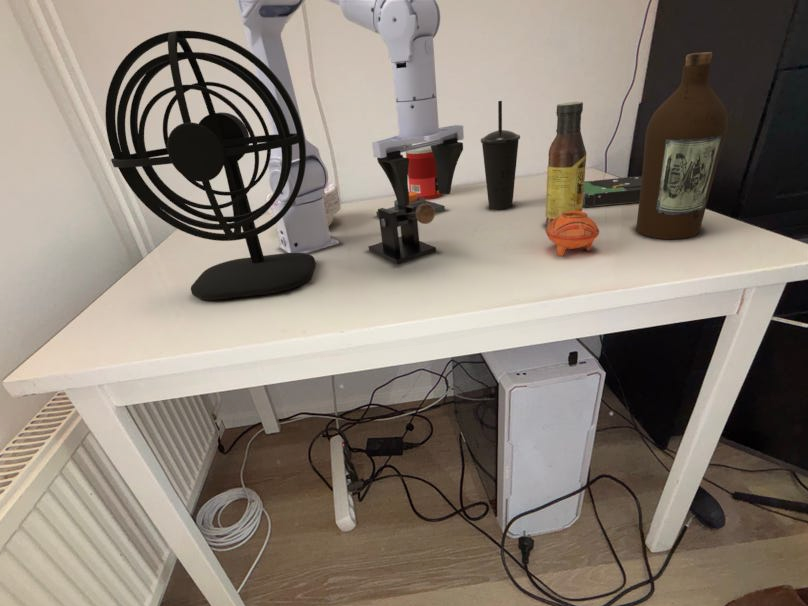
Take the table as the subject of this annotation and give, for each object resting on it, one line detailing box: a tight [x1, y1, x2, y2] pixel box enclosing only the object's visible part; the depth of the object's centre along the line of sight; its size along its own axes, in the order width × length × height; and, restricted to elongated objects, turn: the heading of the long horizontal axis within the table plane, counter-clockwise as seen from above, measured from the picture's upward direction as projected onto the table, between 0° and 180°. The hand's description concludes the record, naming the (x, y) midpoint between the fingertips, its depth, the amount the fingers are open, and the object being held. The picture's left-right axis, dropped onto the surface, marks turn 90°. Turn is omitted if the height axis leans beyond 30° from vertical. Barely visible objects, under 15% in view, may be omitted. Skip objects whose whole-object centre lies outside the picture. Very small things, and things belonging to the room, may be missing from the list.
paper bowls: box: [264, 182, 341, 227], centre depth 103 cm, size 15×15×8 cm
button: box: [409, 191, 418, 203], centre depth 104 cm, size 4×4×2 cm
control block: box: [375, 196, 446, 218], centre depth 105 cm, size 12×9×3 cm
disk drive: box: [582, 175, 642, 208], centre depth 98 cm, size 10×3×15 cm
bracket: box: [368, 204, 437, 265], centre depth 84 cm, size 10×8×8 cm
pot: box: [545, 211, 600, 257], centre depth 76 cm, size 8×8×7 cm
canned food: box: [405, 146, 443, 201], centre depth 115 cm, size 8×8×11 cm
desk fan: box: [104, 30, 316, 301], centre depth 72 cm, size 27×18×35 cm, turn 92°
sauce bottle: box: [545, 101, 587, 227], centre depth 83 cm, size 7×6×20 cm
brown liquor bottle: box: [635, 51, 729, 240], centre depth 74 cm, size 11×11×25 cm
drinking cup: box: [480, 100, 521, 211], centre depth 97 cm, size 8×8×20 cm
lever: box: [395, 204, 436, 227], centre depth 79 cm, size 12×3×3 cm, turn 32°
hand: (424, 199), depth 74 cm, fingers open, 7 cm apart
